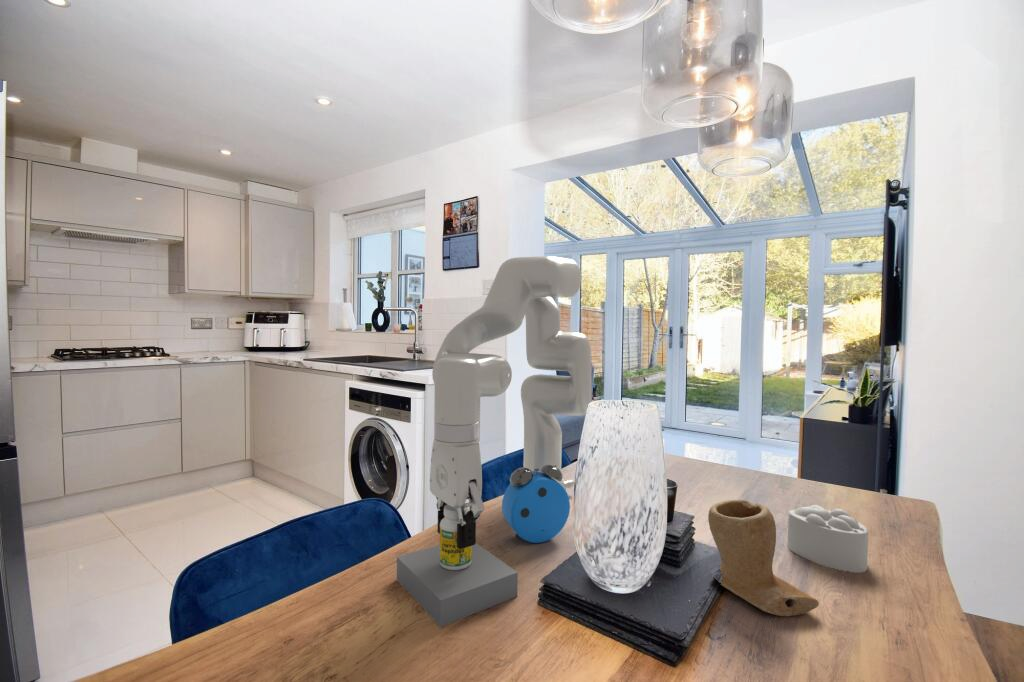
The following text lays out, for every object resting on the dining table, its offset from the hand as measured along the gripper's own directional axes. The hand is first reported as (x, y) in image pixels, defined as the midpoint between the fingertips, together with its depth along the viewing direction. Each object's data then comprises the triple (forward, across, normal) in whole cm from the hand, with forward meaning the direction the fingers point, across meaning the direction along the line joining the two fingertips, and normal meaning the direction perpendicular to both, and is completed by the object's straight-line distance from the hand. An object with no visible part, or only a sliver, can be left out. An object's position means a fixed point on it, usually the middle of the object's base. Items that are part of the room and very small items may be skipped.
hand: (456, 537), depth 81 cm
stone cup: (+9, +30, +39) cm, 50 cm away
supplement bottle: (+5, 0, 0) cm, 5 cm away
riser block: (+8, 0, 0) cm, 8 cm away
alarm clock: (+9, -7, +23) cm, 25 cm away
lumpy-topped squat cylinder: (+9, +32, +65) cm, 73 cm away
